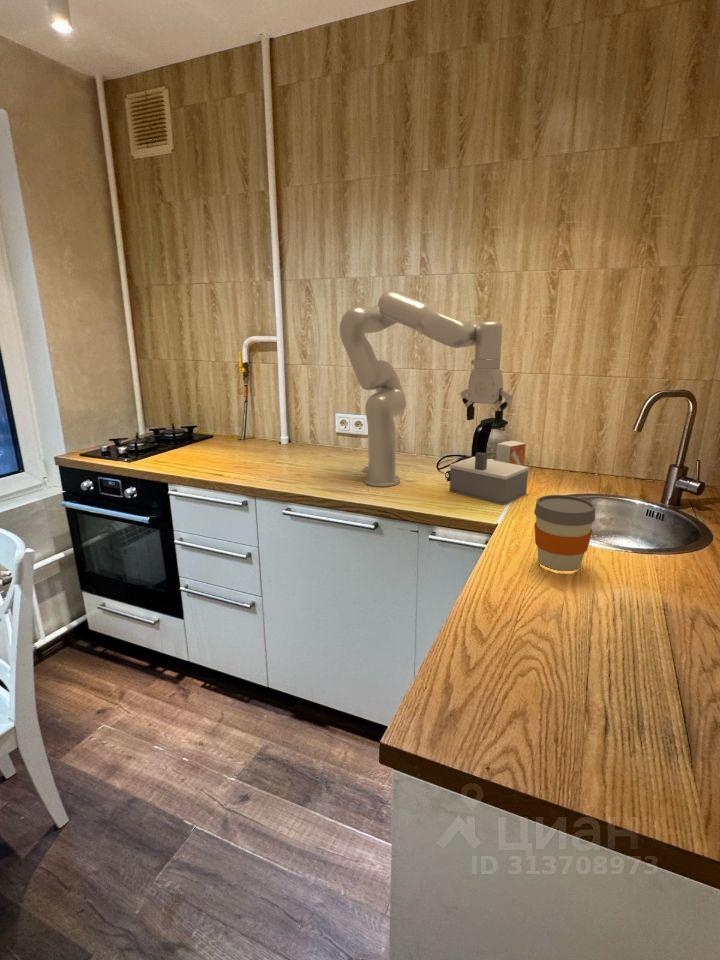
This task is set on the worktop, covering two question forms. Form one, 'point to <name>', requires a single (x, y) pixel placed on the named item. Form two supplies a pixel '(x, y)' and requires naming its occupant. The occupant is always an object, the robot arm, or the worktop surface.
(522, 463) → the small box
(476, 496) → the grey hinged box
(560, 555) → the reusable coffee cup
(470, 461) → the lid
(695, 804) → the worktop surface
